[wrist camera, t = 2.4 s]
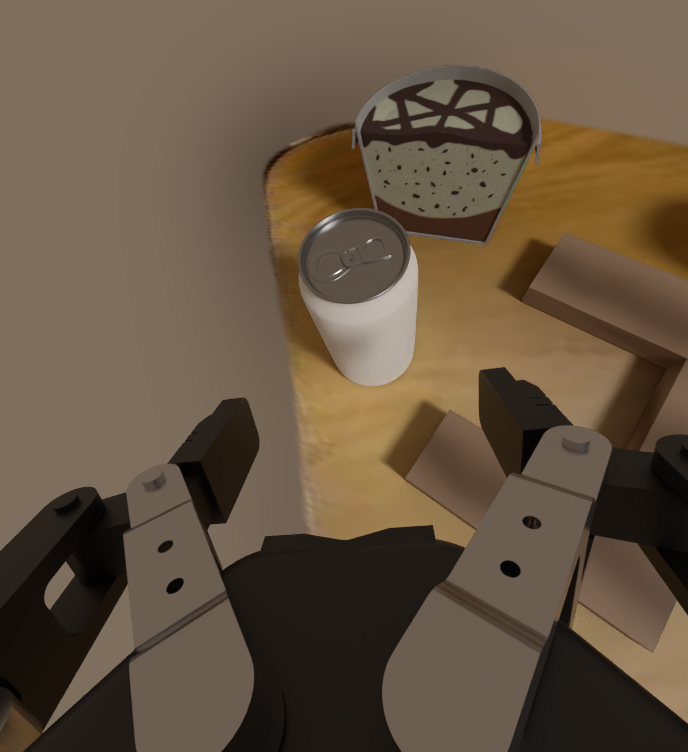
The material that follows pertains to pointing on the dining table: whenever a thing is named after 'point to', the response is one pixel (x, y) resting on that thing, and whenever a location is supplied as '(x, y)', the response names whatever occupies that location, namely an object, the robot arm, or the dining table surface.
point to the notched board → (660, 418)
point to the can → (362, 292)
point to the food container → (447, 149)
